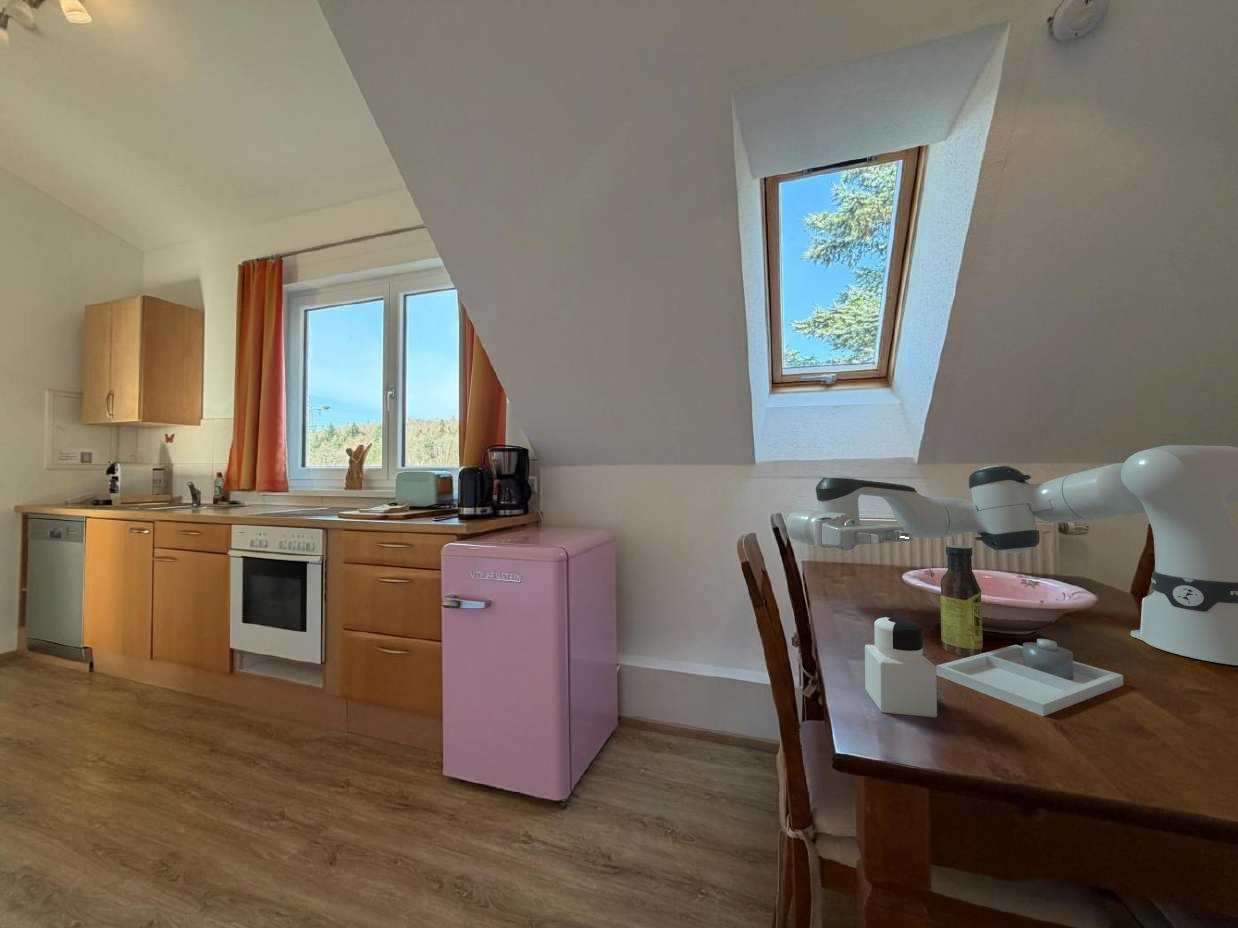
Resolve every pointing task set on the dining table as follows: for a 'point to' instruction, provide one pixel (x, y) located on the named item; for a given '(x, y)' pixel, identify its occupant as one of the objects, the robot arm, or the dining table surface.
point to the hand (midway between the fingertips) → (895, 538)
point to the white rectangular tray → (1027, 680)
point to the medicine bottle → (900, 669)
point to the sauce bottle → (960, 604)
